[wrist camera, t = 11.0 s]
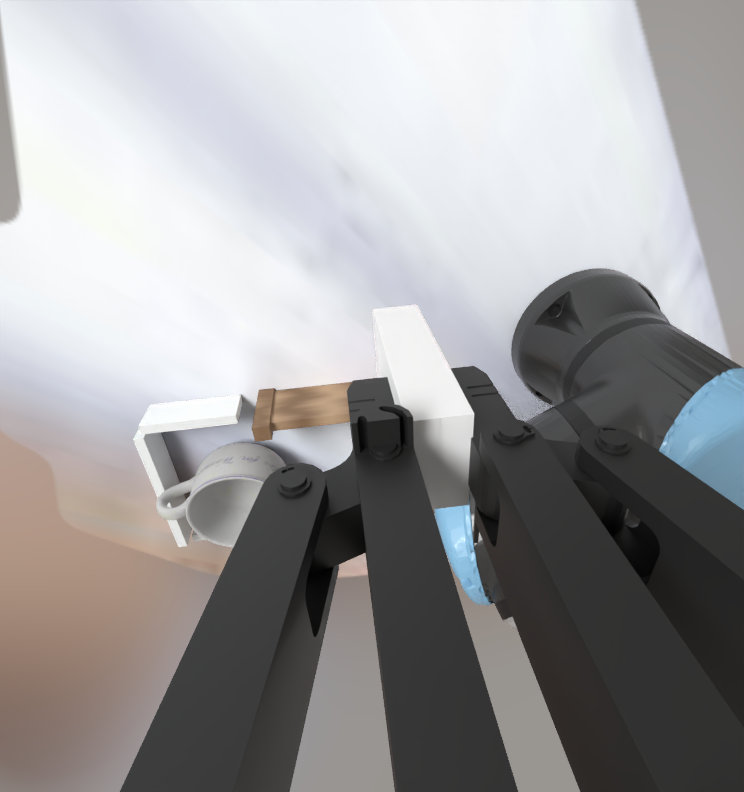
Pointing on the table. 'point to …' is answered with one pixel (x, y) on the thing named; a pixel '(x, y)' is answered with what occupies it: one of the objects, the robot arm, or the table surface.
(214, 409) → the holder
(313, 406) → the wooden frame
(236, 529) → the teacup
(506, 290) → the table surface
